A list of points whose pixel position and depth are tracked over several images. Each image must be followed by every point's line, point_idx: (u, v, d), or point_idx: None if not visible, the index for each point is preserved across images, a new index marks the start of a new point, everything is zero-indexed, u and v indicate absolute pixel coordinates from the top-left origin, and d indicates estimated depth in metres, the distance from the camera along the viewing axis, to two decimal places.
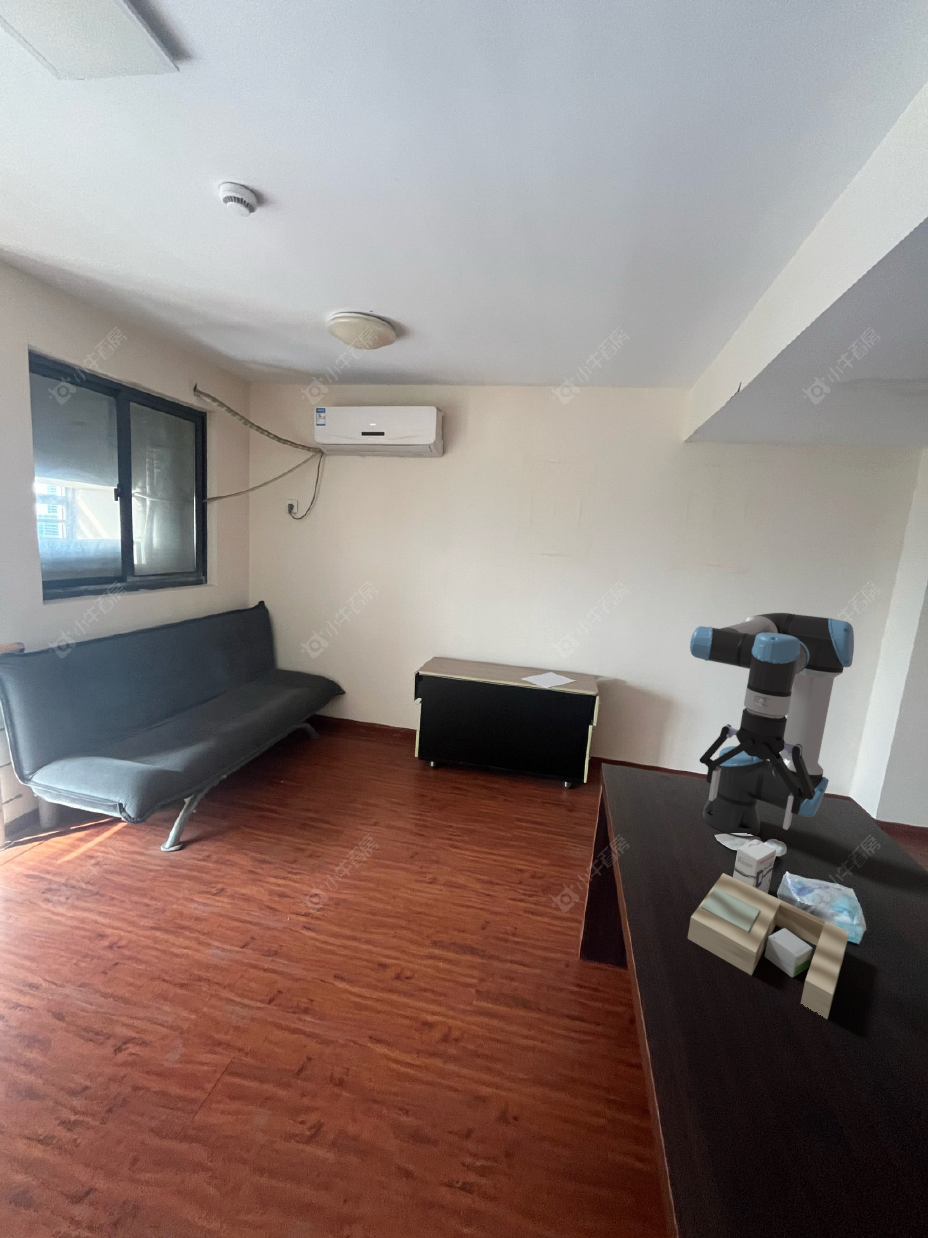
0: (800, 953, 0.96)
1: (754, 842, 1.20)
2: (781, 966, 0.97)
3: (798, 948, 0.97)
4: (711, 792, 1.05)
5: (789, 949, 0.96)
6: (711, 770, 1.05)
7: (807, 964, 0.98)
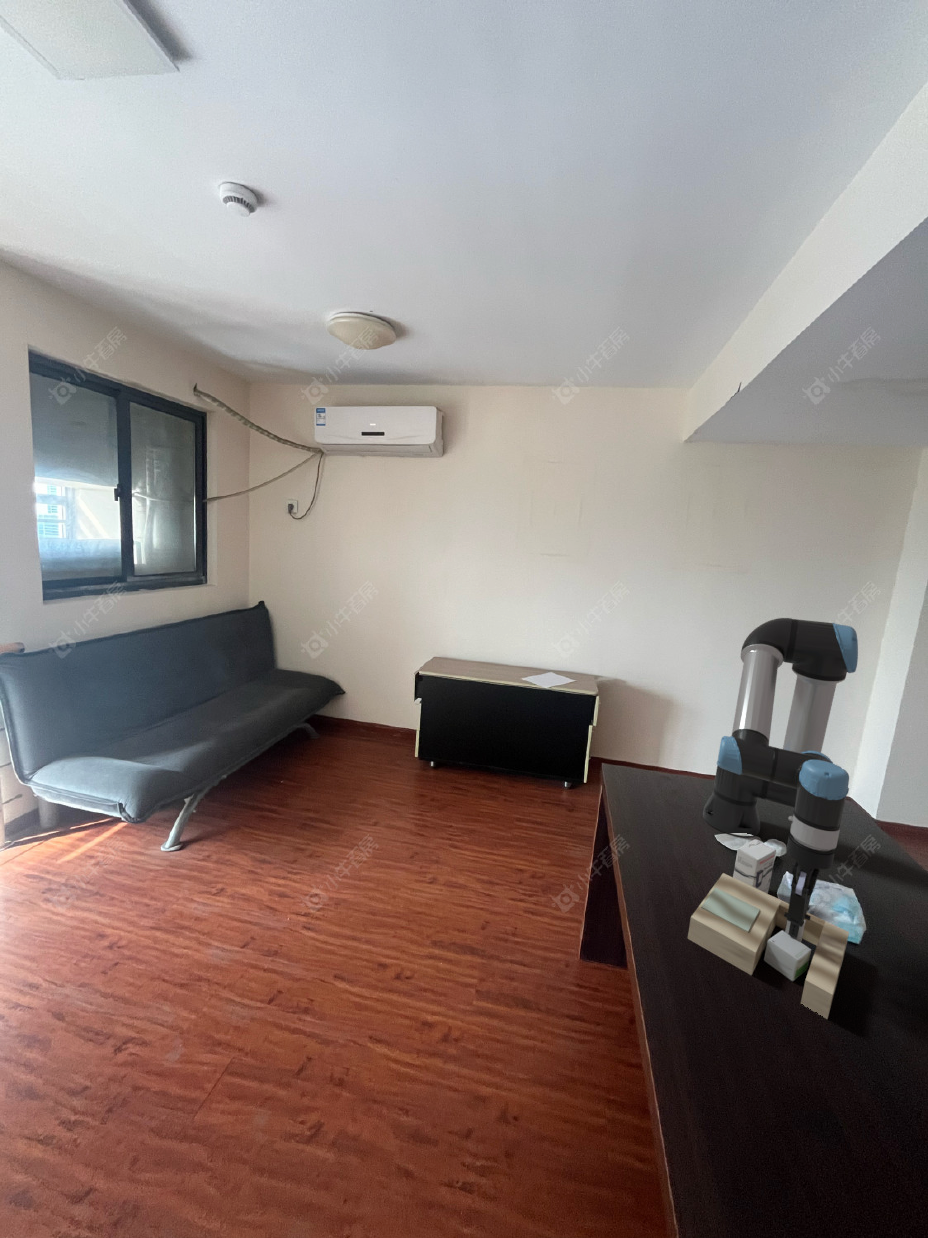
0: (800, 956, 0.95)
1: (755, 842, 1.20)
2: (781, 970, 0.96)
3: (798, 951, 0.96)
4: None
5: (789, 953, 0.95)
6: None
7: (806, 966, 0.97)
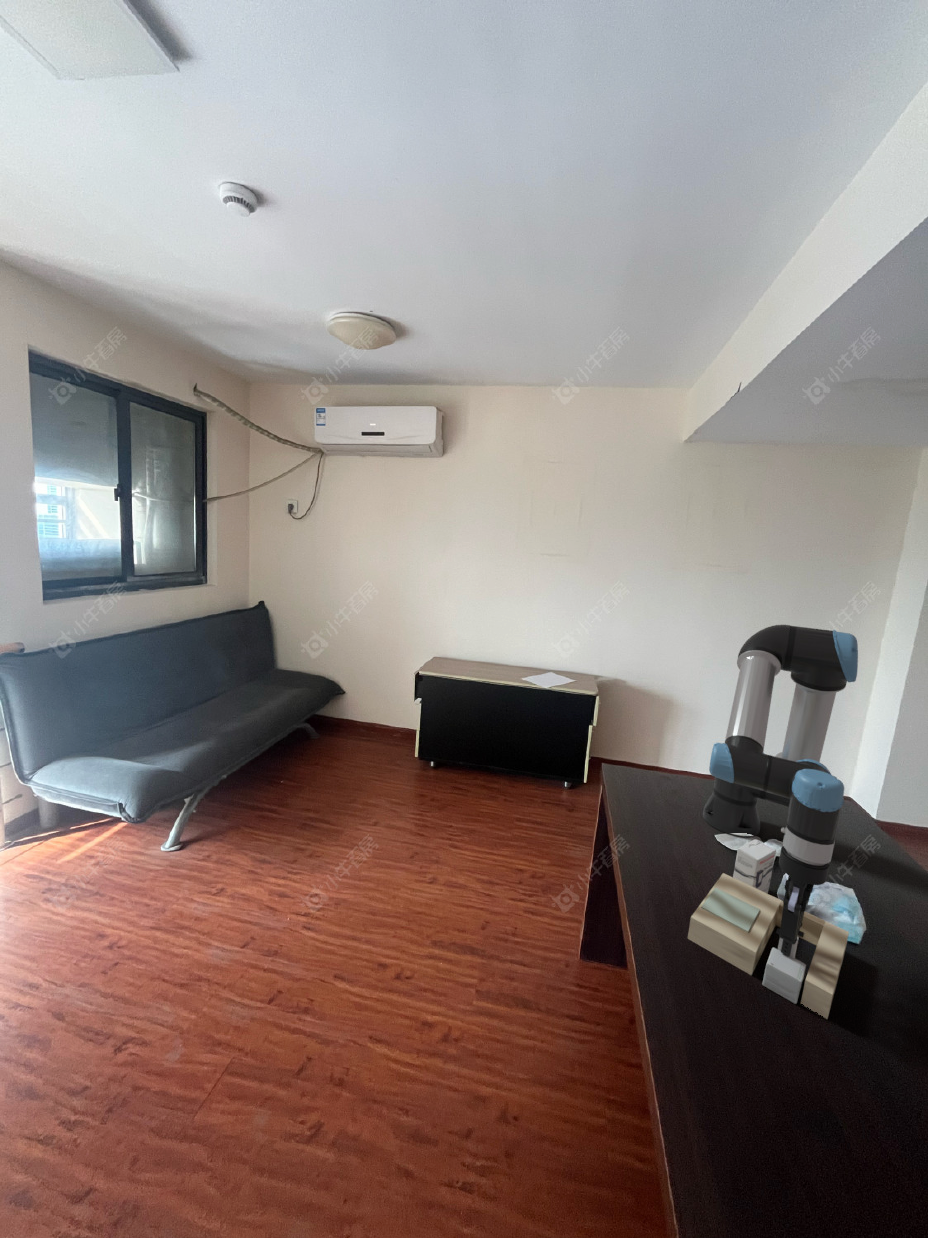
0: (800, 975, 0.91)
1: (755, 842, 1.20)
2: (783, 994, 0.91)
3: (796, 970, 0.92)
4: None
5: (791, 975, 0.90)
6: None
7: None
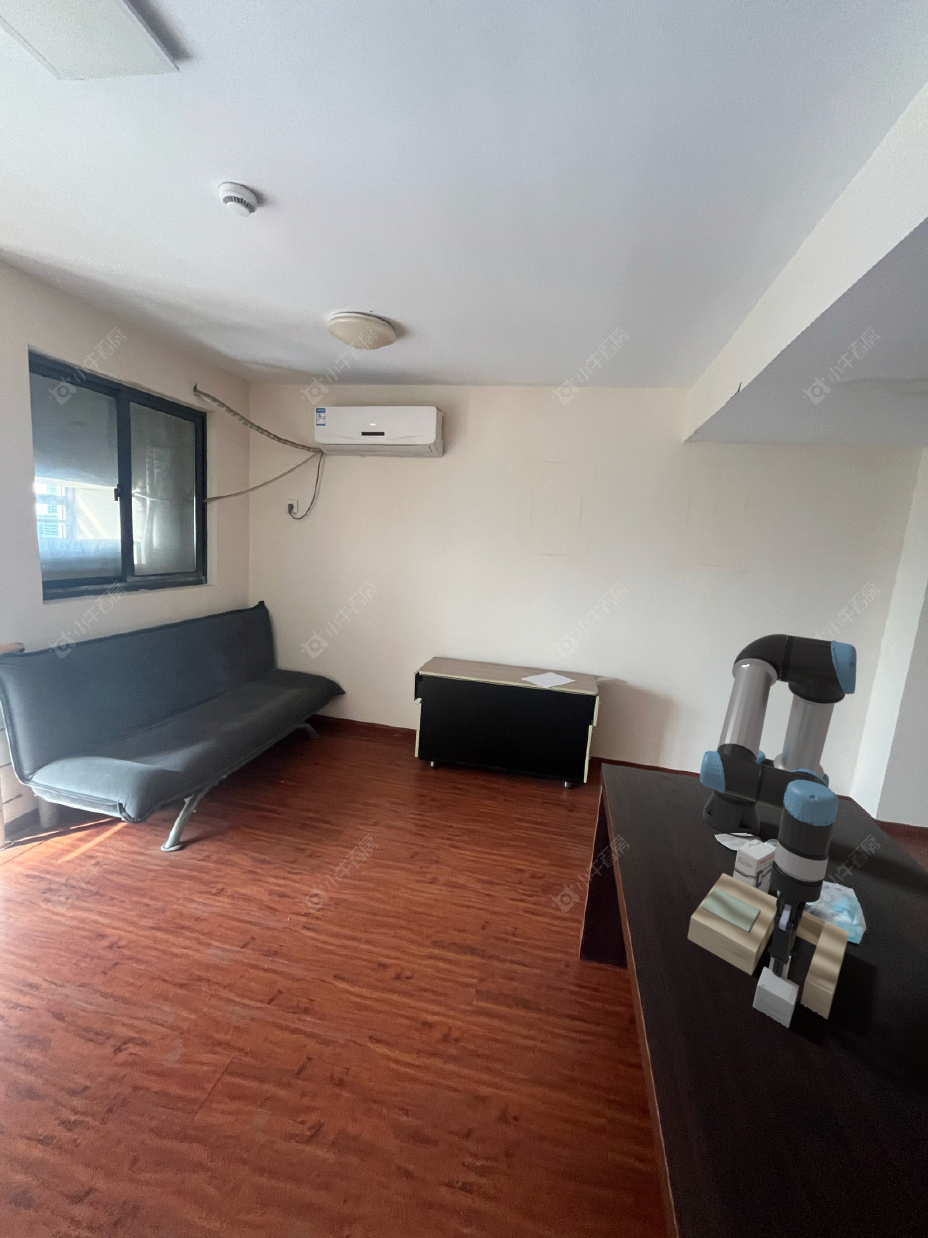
0: (793, 997, 0.86)
1: (755, 842, 1.20)
2: (775, 1017, 0.87)
3: (789, 992, 0.87)
4: None
5: (783, 997, 0.86)
6: None
7: None
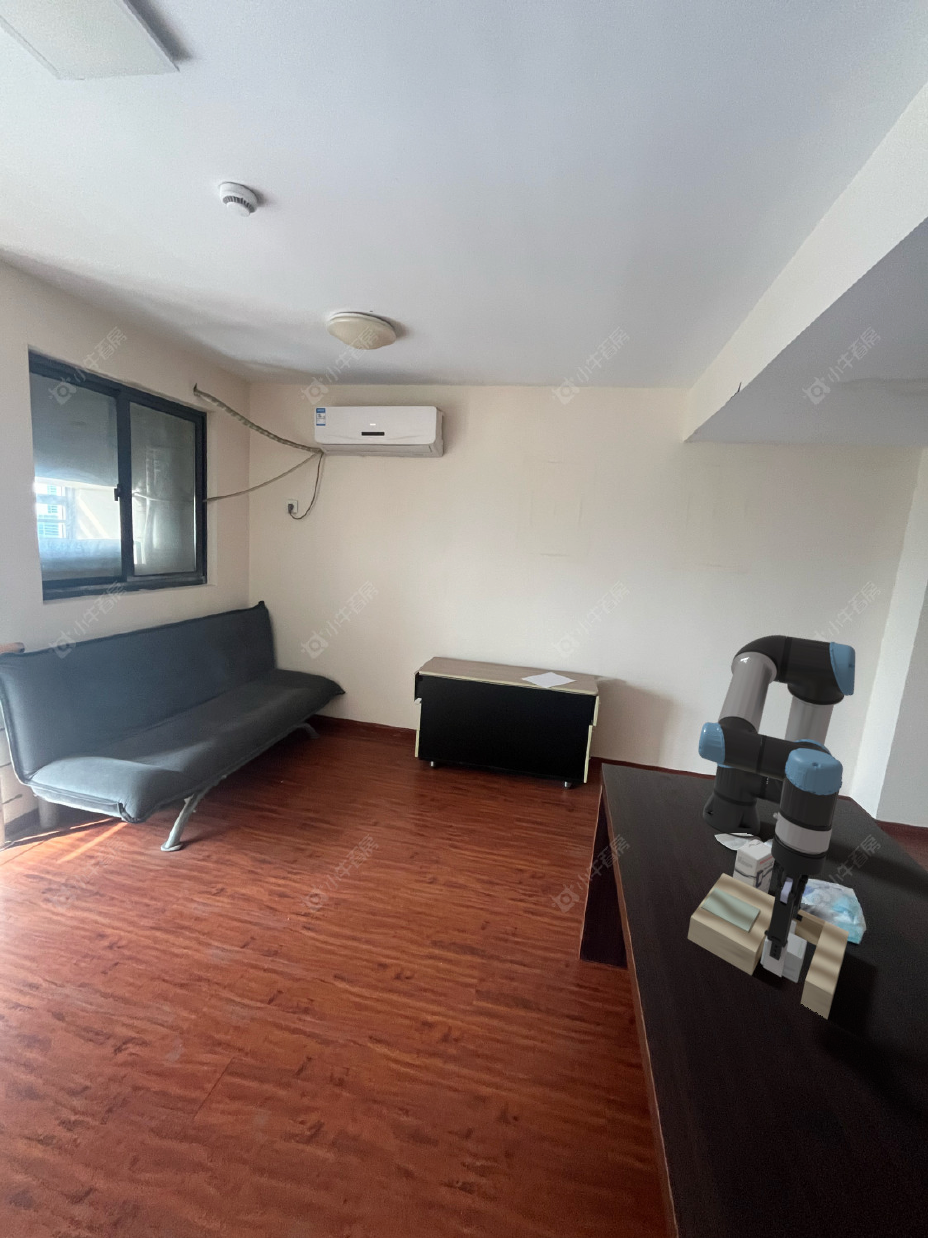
0: (801, 952, 0.85)
1: (755, 842, 1.20)
2: (783, 972, 0.85)
3: (797, 946, 0.86)
4: None
5: (791, 952, 0.84)
6: None
7: None
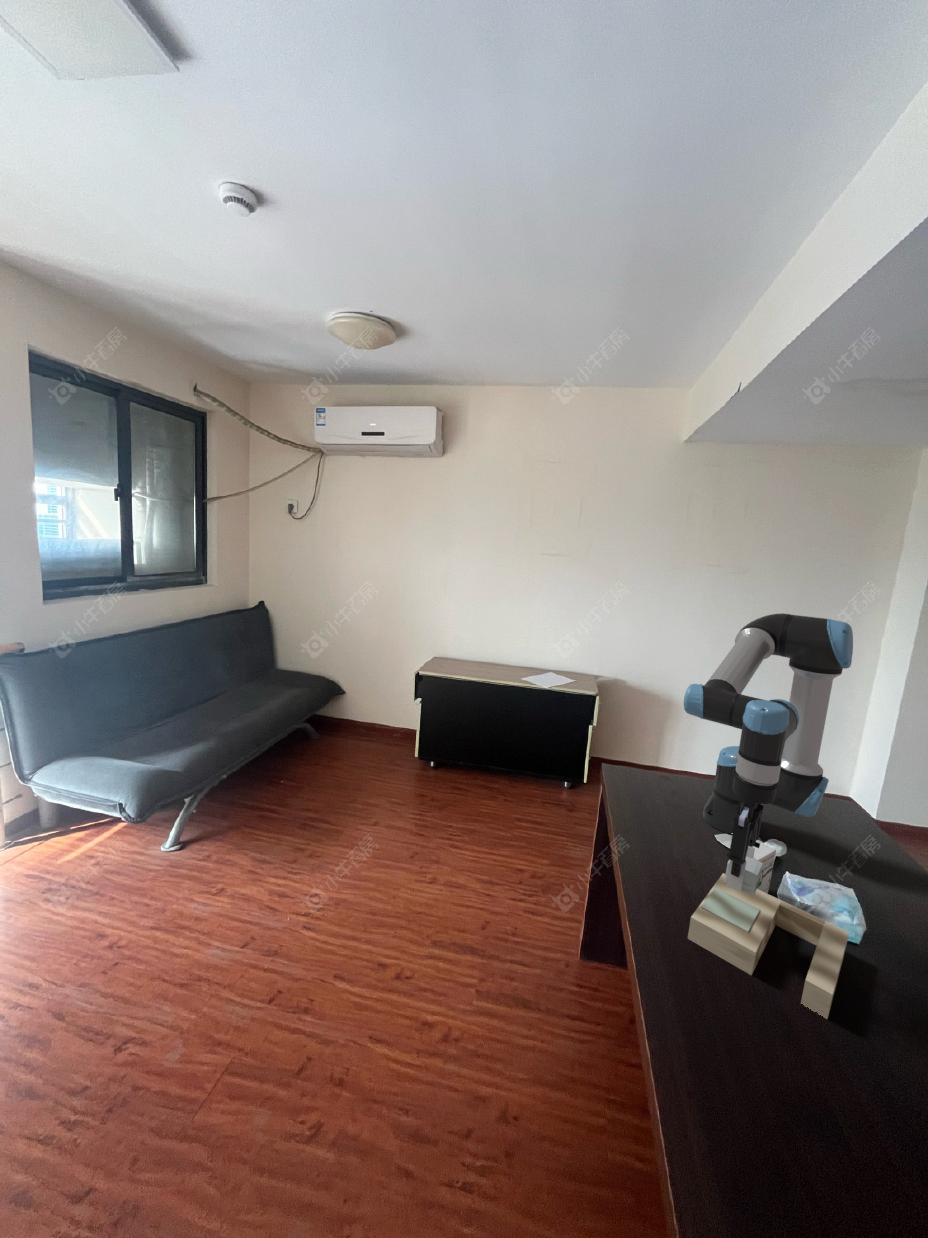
0: (757, 870, 1.01)
1: None
2: (742, 888, 1.01)
3: (754, 867, 1.02)
4: None
5: (748, 870, 1.01)
6: None
7: (759, 879, 1.03)
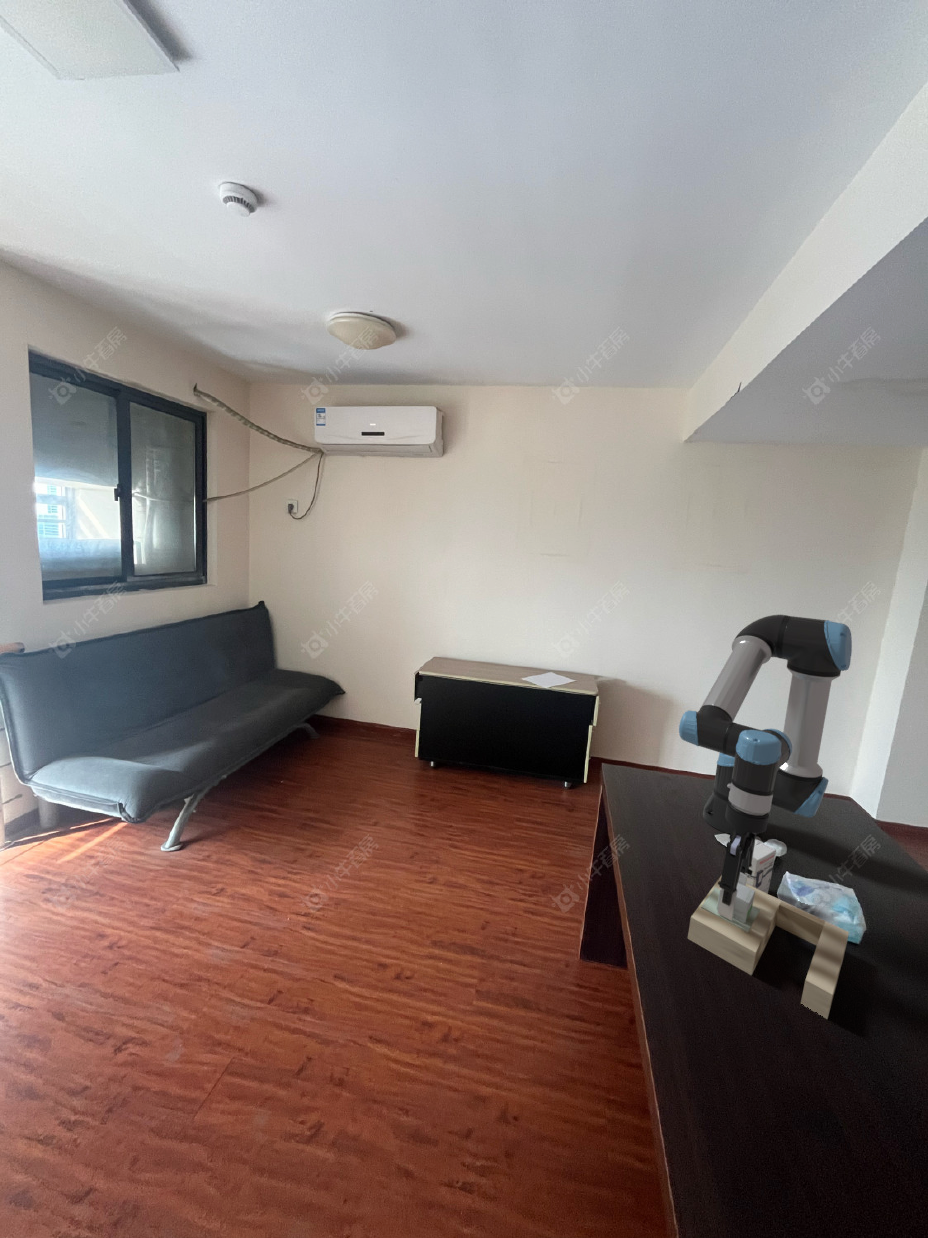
0: (749, 898, 1.02)
1: (755, 842, 1.20)
2: (734, 915, 1.03)
3: (746, 894, 1.03)
4: None
5: (740, 898, 1.02)
6: None
7: (751, 906, 1.05)
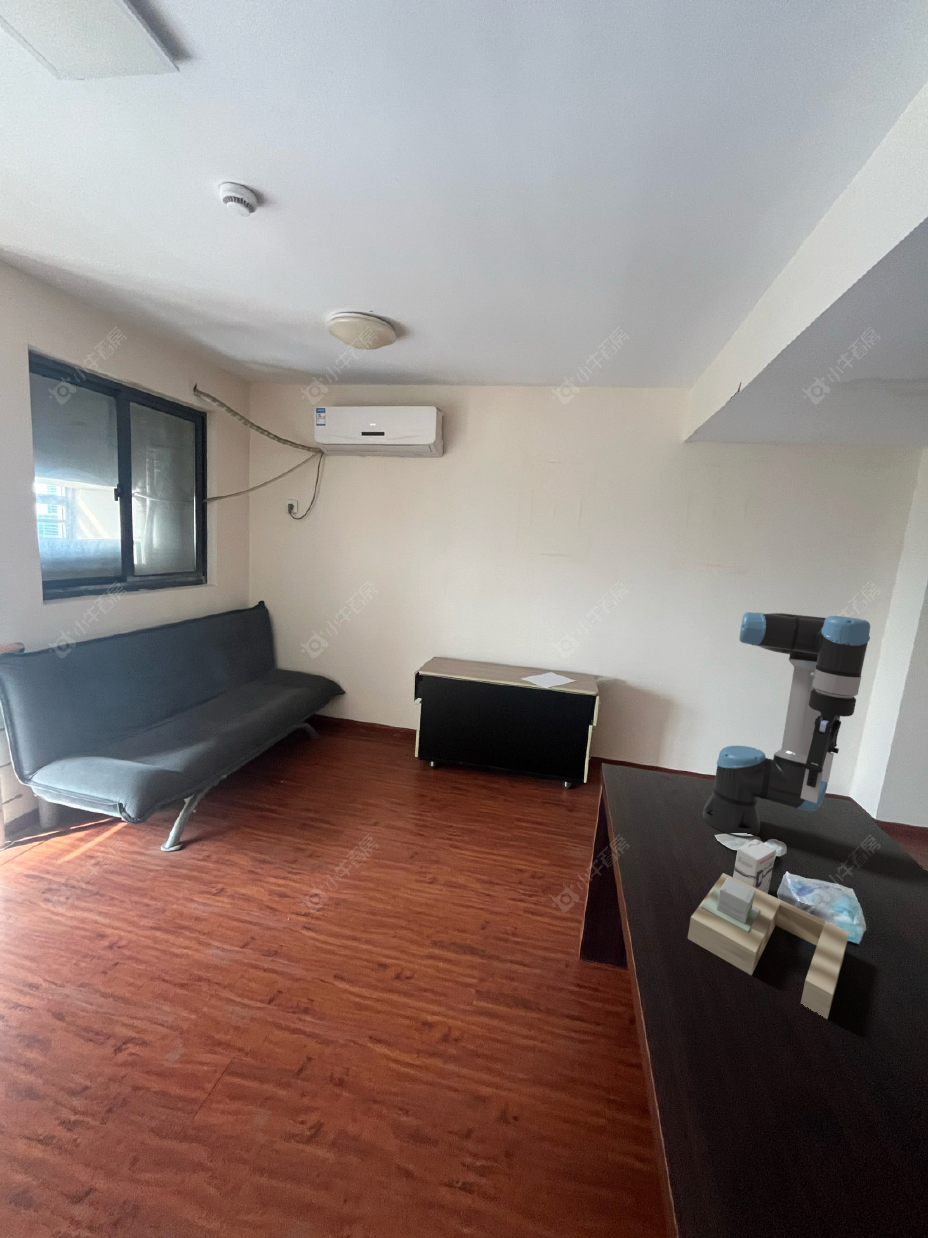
0: (749, 898, 1.02)
1: (754, 842, 1.20)
2: (734, 915, 1.03)
3: (746, 894, 1.03)
4: None
5: (740, 898, 1.02)
6: None
7: (751, 906, 1.05)
